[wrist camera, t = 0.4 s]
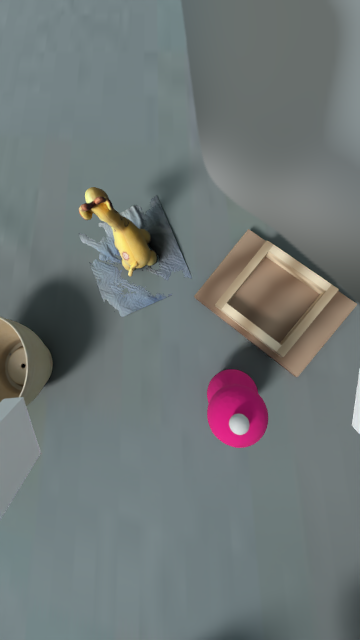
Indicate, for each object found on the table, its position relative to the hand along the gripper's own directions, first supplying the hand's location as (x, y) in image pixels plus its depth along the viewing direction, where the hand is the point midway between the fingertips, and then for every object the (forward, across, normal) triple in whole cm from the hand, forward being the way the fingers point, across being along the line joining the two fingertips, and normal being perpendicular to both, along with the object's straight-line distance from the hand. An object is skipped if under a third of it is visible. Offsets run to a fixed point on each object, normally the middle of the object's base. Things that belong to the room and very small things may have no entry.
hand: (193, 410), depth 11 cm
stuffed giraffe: (+40, +8, -3) cm, 41 cm away
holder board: (+32, -14, +5) cm, 36 cm away
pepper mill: (+28, -7, +18) cm, 34 cm away
